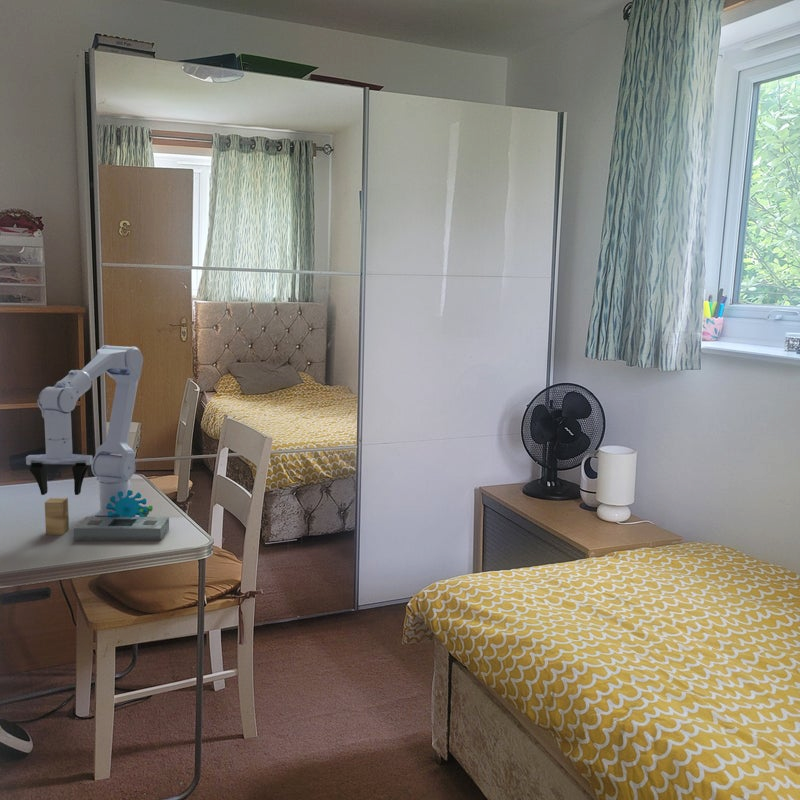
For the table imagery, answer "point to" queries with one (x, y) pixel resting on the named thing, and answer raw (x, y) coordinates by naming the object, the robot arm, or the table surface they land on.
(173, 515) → the table surface
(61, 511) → the peg
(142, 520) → the grey holed base
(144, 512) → the gear
